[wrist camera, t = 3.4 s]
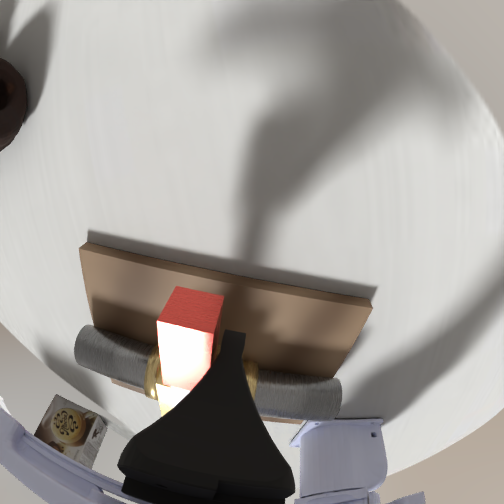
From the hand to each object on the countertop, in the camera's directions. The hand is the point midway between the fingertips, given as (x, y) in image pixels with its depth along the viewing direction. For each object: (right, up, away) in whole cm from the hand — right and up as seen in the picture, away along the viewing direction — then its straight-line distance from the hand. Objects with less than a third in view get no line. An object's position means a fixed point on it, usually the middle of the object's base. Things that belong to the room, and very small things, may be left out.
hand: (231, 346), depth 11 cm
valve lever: (-2, -3, +2) cm, 4 cm away
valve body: (-2, -4, +9) cm, 10 cm away
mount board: (-2, -4, +9) cm, 10 cm away
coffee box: (-28, -23, +21) cm, 41 cm away
